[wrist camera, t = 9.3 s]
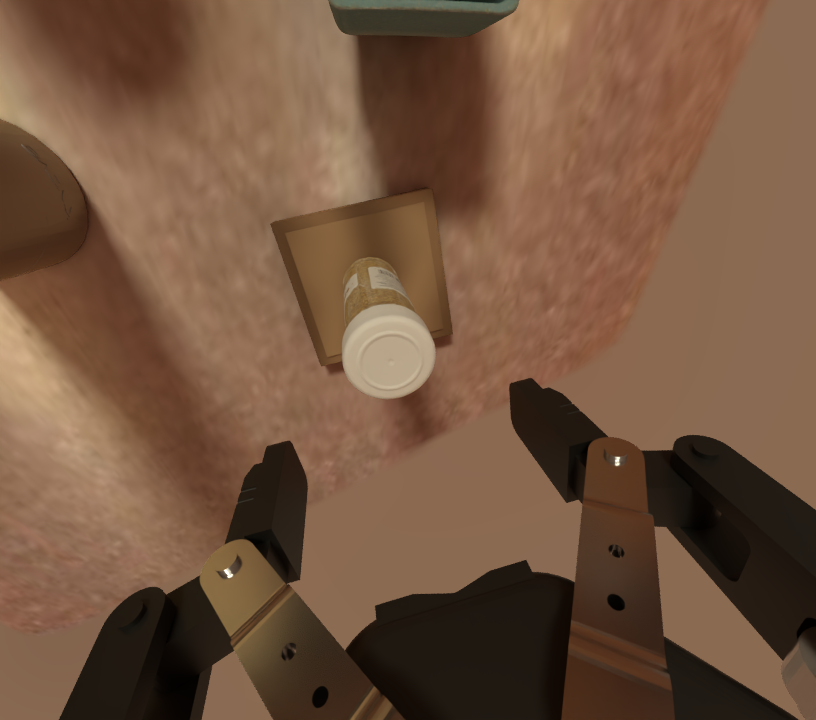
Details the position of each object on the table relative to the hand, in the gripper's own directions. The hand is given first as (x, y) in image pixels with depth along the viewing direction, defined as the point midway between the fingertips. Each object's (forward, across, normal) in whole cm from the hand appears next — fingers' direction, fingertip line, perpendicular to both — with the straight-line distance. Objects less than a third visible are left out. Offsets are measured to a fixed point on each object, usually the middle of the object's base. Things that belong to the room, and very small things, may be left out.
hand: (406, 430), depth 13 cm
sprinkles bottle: (+18, 0, 0) cm, 18 cm away
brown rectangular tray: (+20, -1, 0) cm, 20 cm away
